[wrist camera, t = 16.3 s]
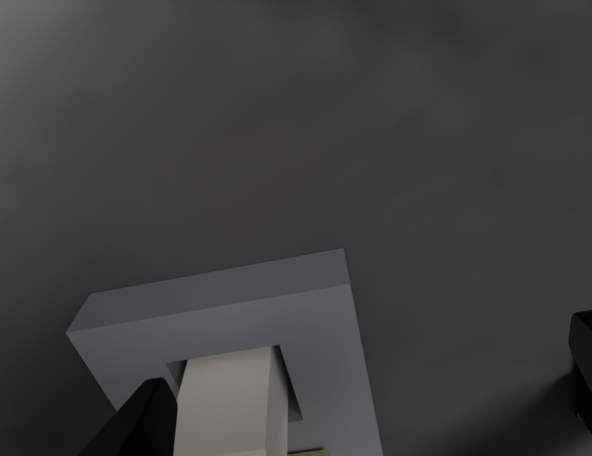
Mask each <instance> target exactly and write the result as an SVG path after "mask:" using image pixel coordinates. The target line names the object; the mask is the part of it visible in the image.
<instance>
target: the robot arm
mask: <svg viewBox="0 0 592 456" xmlns="http://www.w3.org/2000/svg"><path fill="white" fill-rule="evenodd" d="M568 342H569V348H570V351H571V353H572V355H573V357H574V359H575V361H576V363H577V365H578V367H579V369H580V374H579V378H578V380H577V386H576V392H575V398H574V411H573V412H574V415H575V416H576V418H577V419H578V420H580V421H584V423H585V424H586V426H587V427H588V429H589V430H590V432H591V434H592V310H588V311H581V312H576V313H574V314H573V315H572V318H571V325H570V332H569V341H568ZM177 413H178V404H177V400H176V398H175V396H174V394H173V392H172V390H171V388H170V386H169V384H168V382H167V381H166V379H165V378H163V377H157V378H151V379H147V380H145V381H144V382H143V383H142V384H141V385H140V386H139V387H138V388H137V390H136V391H135V392H134V393H133V394H132V395H131V396H130V397H129V399H128V400H127V401H126V402H125V403H124V404H123V405H122V406H121V408H120V409H119V410H118V411H117V412H116V413H115V414H114V415H113V417H112V418H111V419H110V420H109V421H108V422H107V423H106V424H105V426H104V427H103V428H102V429H101V430H100V431H99V432H98V433H97V435H96V436H95V437H94V438H93V439H92V440H91V441H90V442H89V443H88V445H87V446H86V447H85V448H84V449H83V450H82V451H81V452H80V454H79V455H78V456H173V454H174V444H175V434H176V423H177Z"/></svg>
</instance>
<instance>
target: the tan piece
mask: <svg viewBox="0 0 592 456" xmlns="http://www.w3.org/2000/svg"><path fill="white" fill-rule="evenodd" d="M287 456H328V455H327V452H326V450H318V451H311V452H303V453H296V454H288V455H287Z"/></svg>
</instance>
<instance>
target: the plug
mask: <svg viewBox="0 0 592 456" xmlns="http://www.w3.org/2000/svg"><path fill="white" fill-rule="evenodd" d="M177 404H178V413H177V423H176V434H175V444H174V454H173V456H287V432H288V370H287V367H286V364H285V361H284V358H283V355H282V351H281V348H280V345H275V346H268V347H262V348H256V349H250V350H243V351H237V352H231V353H225V354H218V355H212V356H206V357H200V358H193V359H188V362H187V365H186V369H185V372H184V376H183V380H182V383H181V387H180V391H179V394H178V398H177Z"/></svg>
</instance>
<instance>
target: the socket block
mask: <svg viewBox="0 0 592 456" xmlns="http://www.w3.org/2000/svg"><path fill="white" fill-rule="evenodd" d="M66 334H67V336H68V337H69V339H70V341H71V342H72V344H73V345H74V347H75V348H76V350H77V351H78V353H79V354H80V356H81V357H82V359H83V361H84V362H85V364H86V365H87V367H88V368H89V370H90V371H91V373H92V374H93V376H94V377H95V379H96V380H97V382H98V384H99V385H100V387H101V388H102V390H103V391H104V393H105V394H106V396H107V397H108V399H109V400H110V402H111V404H112V405H113V407H114V408H115V410H116V411H118V410H119V409H120V408H121V406H122V405H123V404H124V403H125V402H126V401H127V400H128V399H129V397H130V396H131V395H132V394H133V393H134V392H135V391H136V390H137V388H138V387H139V386H140V385H141V384H142V383H143V382H144V381H145V380H147V379H151V378H157V377H163V378H165V379H166V381H167V382H168V384H169V386H170V388H171V390H172V392H173V394H174V396H175V398H176V400H177V398H178V394H179V391H180V387H181V383H182V380H183V376H184V372H185V369H186V365H187V362H188V359H193V358H200V357H206V356H212V355H218V354H225V353H231V352H237V351H243V350H250V349H256V348H262V347H268V346H275V345H280V348H281V351H282V355H283V358H284V361H285V364H286V367H287V370H288V373H289V376H290V379H291V380H288V432H287V455H288V454H296V453H303V452H311V451H318V450H326V452H327V455H328V456H383V451H382V446H381V441H380V436H379V430H378V425H377V420H376V415H375V410H374V404H373V399H372V394H371V389H370V383H369V378H368V373H367V368H366V363H365V357H364V352H363V347H362V342H361V337H360V331H359V326H358V321H357V316H356V311H355V305H354V300H353V295H352V290H351V285H350V279H349V274H348V269H347V264H346V258H345V253H344V248H341V249H336V250H330V251H324V252H319V253H313V254H308V255H302V256H297V257H291V258H286V259H280V260H275V261H269V262H264V263H258V264H253V265H247V266H242V267H236V268H230V269H225V270H219V271H214V272H208V273H203V274H197V275H192V276H186V277H181V278H175V279H170V280H164V281H159V282H153V283H148V284H142V285H136V286H131V287H125V288H120V289H114V290H109V291H103V292H98V293H92V294H90V295H89V297H88V298H87V300H86V301H85V303H84V305H83V306H82V308H81V309H80V311H79V312H78V314H77V316H76V317H75V319H74V320H73V322H72V324H71V325H70V327H69V328H68V330H67V331H66Z"/></svg>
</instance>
